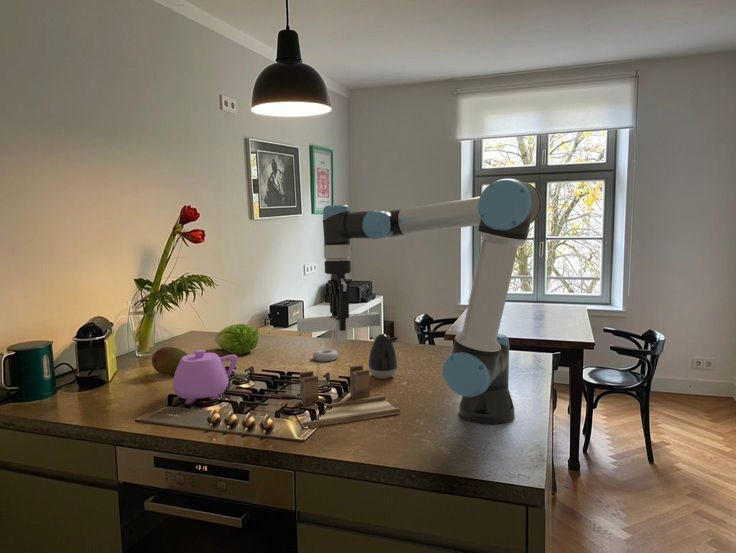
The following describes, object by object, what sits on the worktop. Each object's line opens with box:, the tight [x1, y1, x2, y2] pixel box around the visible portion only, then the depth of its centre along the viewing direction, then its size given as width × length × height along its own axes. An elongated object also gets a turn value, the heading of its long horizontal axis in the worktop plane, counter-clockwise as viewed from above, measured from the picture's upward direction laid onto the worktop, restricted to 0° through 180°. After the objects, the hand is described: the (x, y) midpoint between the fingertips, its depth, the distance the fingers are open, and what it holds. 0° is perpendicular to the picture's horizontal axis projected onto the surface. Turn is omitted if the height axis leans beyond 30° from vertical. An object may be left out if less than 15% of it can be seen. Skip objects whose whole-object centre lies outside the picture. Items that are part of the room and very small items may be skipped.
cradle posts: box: [299, 364, 371, 407], centre depth 159 cm, size 6×20×9 cm, turn 111°
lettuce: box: [214, 323, 259, 355], centre depth 221 cm, size 13×22×14 cm
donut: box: [312, 348, 339, 363], centre depth 208 cm, size 10×3×10 cm
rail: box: [296, 311, 381, 334], centre depth 152 cm, size 4×24×4 cm, turn 110°
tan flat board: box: [301, 395, 401, 427], centre depth 149 cm, size 12×28×1 cm, turn 111°
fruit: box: [151, 346, 189, 375], centre depth 190 cm, size 12×12×10 cm
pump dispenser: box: [368, 333, 399, 380], centre depth 183 cm, size 10×10×15 cm
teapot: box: [172, 348, 239, 405], centre depth 167 cm, size 20×20×15 cm
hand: (340, 339), depth 153 cm, fingers closed on rail, 3 cm apart
